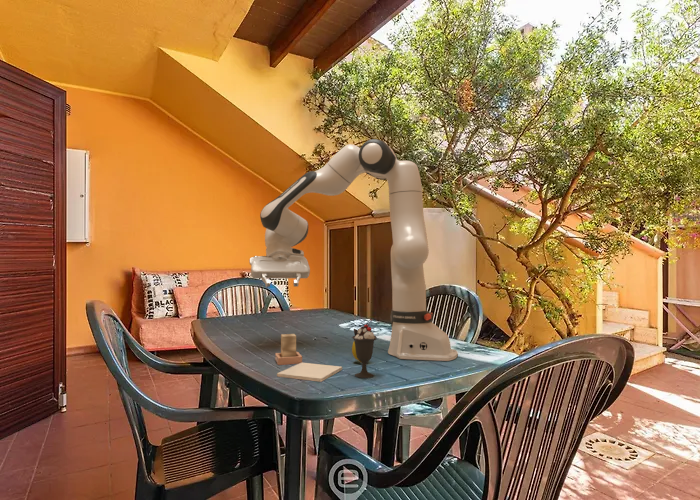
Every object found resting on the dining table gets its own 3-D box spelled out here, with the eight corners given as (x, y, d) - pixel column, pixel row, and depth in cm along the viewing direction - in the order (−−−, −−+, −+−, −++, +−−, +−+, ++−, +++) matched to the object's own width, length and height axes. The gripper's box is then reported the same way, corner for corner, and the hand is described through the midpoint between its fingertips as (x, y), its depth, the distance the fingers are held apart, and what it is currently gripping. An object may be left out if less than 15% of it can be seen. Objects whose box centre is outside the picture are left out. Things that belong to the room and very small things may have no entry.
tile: (342, 369, 116) (342, 366, 116) (321, 381, 104) (321, 378, 104) (301, 365, 121) (301, 362, 121) (277, 376, 109) (277, 373, 109)
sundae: (380, 377, 107) (380, 319, 108) (356, 380, 105) (355, 320, 106) (372, 371, 113) (372, 316, 114) (348, 373, 111) (348, 317, 112)
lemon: (369, 365, 120) (368, 337, 121) (350, 364, 121) (350, 337, 122) (371, 361, 126) (371, 334, 126) (354, 360, 127) (353, 334, 127)
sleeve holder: (298, 358, 130) (298, 351, 130) (302, 363, 123) (302, 356, 123) (275, 359, 128) (275, 353, 128) (278, 365, 121) (278, 358, 121)
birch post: (293, 359, 128) (293, 333, 128) (296, 362, 124) (296, 335, 124) (280, 360, 127) (281, 334, 127) (282, 363, 123) (282, 336, 123)
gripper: (249, 249, 143) (251, 279, 134) (307, 250, 149) (313, 278, 140) (248, 262, 147) (249, 291, 138) (305, 263, 153) (310, 291, 144)
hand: (282, 285), depth 139 cm, fingers open, 8 cm apart
